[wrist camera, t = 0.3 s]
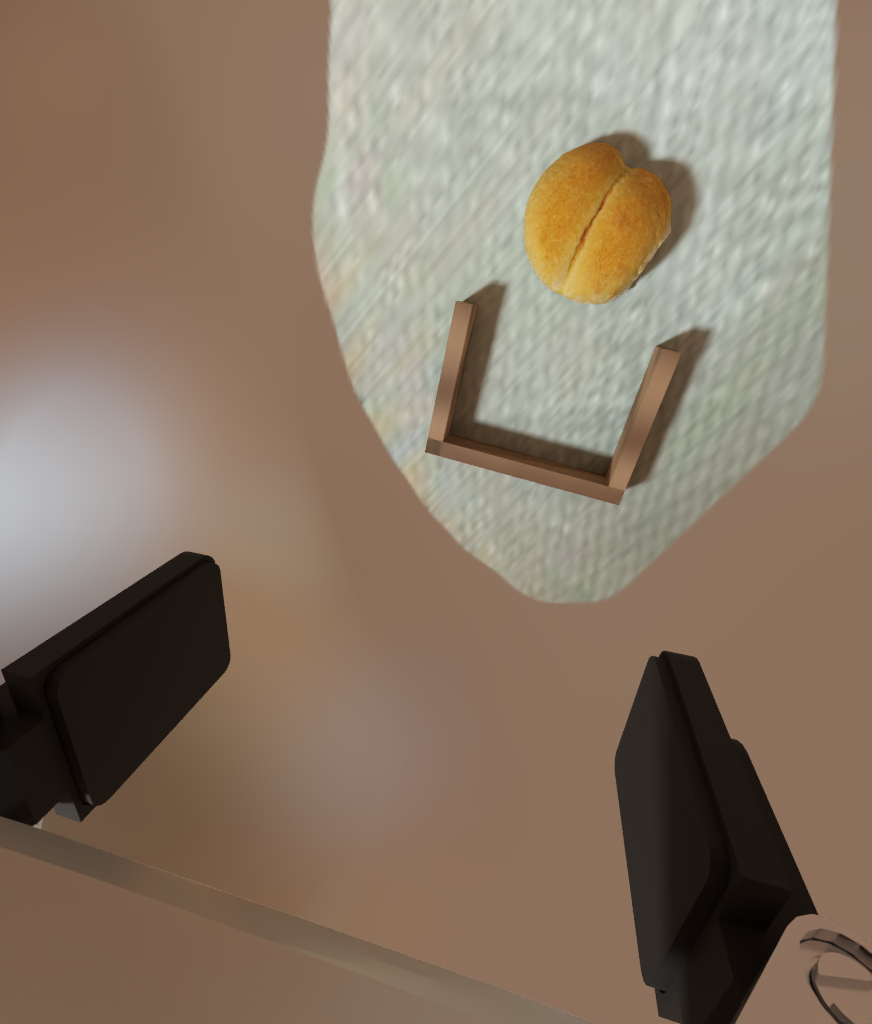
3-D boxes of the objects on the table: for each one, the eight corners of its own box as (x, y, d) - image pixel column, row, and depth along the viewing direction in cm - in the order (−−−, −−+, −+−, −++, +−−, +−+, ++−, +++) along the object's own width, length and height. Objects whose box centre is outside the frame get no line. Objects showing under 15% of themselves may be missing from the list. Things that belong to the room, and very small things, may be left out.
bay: (462, 301, 35) (455, 301, 33) (672, 350, 33) (681, 353, 31) (432, 444, 40) (425, 452, 37) (614, 493, 38) (618, 505, 36)
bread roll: (570, 126, 30) (573, 101, 26) (688, 205, 30) (706, 191, 26) (498, 256, 33) (491, 249, 30) (603, 325, 34) (609, 327, 30)
